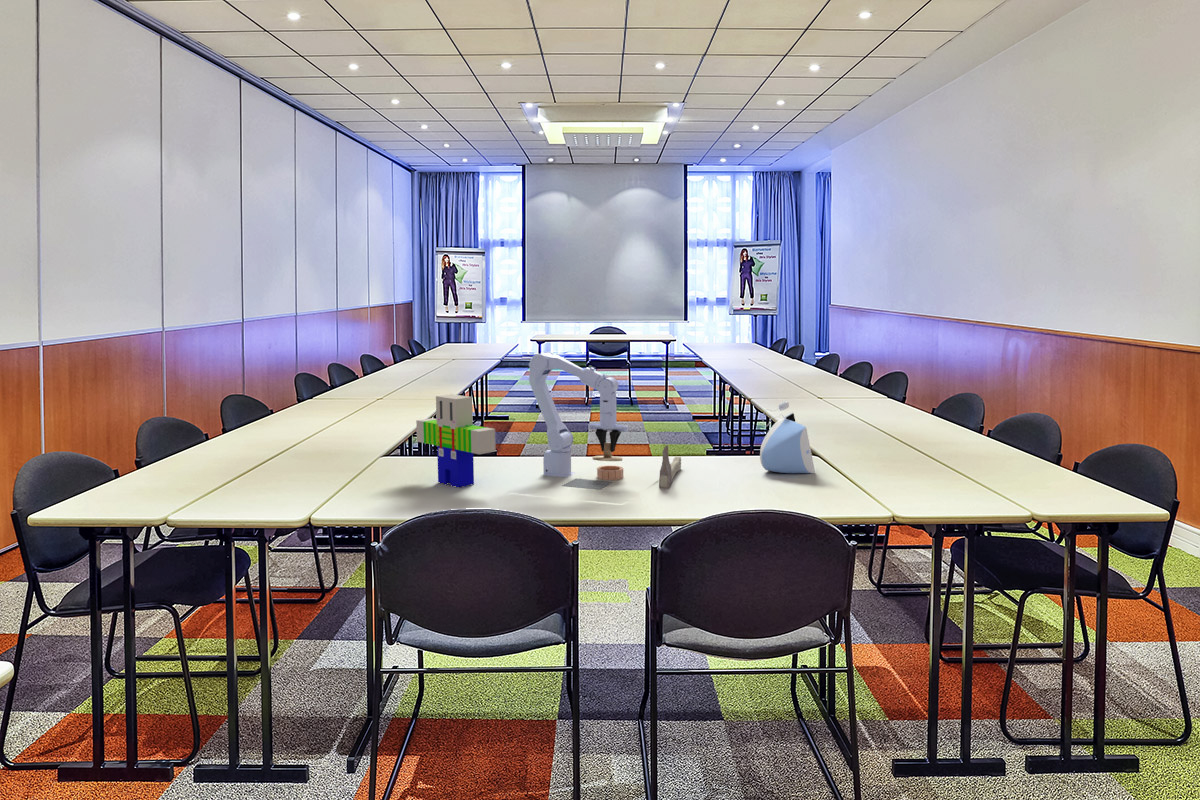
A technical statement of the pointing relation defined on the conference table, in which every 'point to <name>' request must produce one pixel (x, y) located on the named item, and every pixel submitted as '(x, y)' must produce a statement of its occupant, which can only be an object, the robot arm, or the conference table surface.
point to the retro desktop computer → (786, 446)
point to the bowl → (610, 472)
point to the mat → (587, 484)
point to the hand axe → (668, 469)
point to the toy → (455, 439)
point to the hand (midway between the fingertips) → (608, 451)
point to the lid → (607, 454)
